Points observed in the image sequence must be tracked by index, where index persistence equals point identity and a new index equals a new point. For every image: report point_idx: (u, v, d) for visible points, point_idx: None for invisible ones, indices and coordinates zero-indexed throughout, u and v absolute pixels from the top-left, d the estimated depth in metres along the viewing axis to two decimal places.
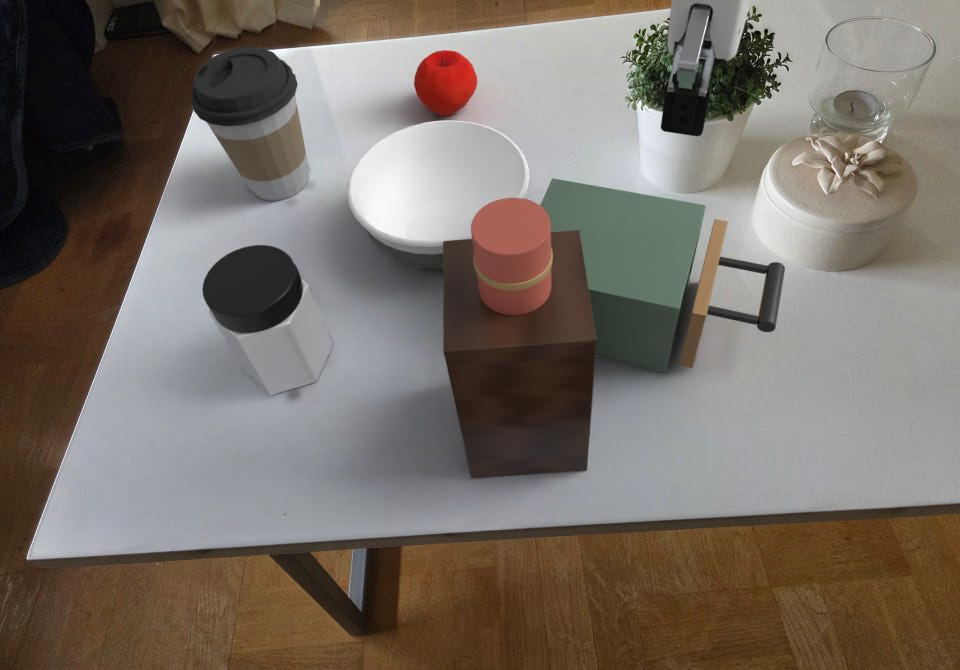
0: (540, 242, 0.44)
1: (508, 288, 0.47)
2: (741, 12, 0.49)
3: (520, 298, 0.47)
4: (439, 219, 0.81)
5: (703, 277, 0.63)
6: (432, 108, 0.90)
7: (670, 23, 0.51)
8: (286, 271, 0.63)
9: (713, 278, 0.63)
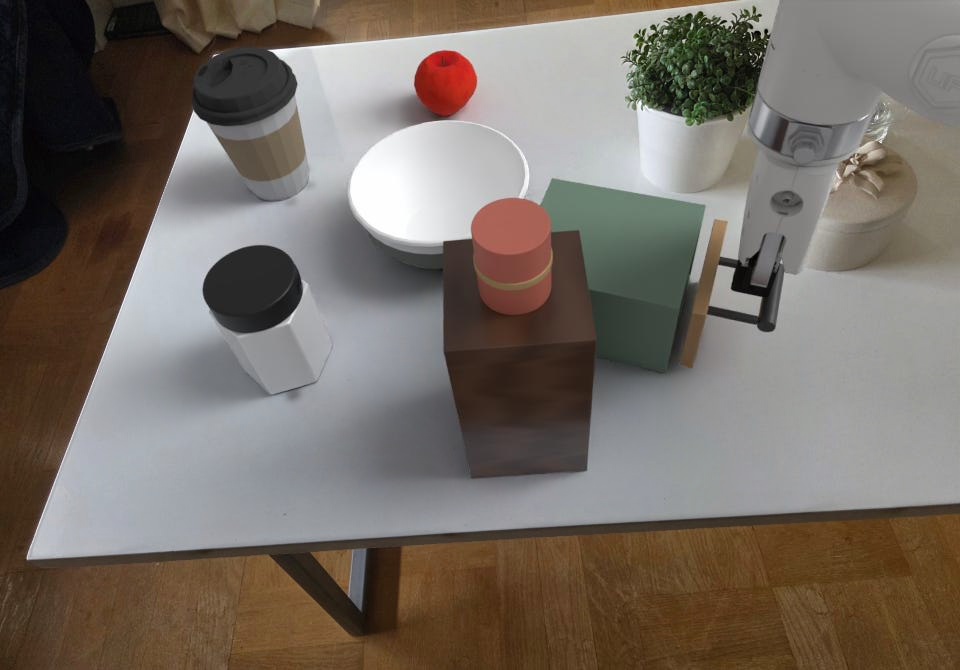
0: (540, 242, 0.44)
1: (508, 288, 0.47)
2: (812, 241, 0.52)
3: (520, 298, 0.47)
4: (439, 219, 0.81)
5: (703, 277, 0.63)
6: (432, 108, 0.90)
7: (743, 242, 0.54)
8: (286, 271, 0.63)
9: (713, 278, 0.63)
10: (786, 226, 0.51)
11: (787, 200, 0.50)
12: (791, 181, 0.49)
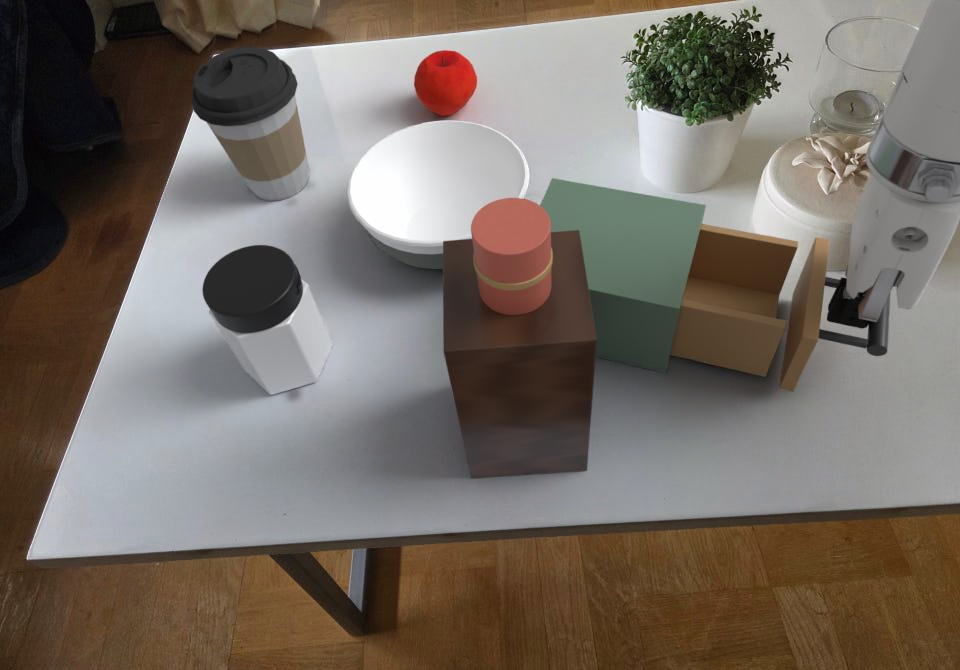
0: (540, 242, 0.44)
1: (508, 288, 0.47)
2: (931, 276, 0.51)
3: (520, 298, 0.47)
4: (439, 219, 0.81)
5: (810, 299, 0.60)
6: (432, 108, 0.90)
7: (856, 277, 0.53)
8: (286, 271, 0.63)
9: (821, 300, 0.60)
10: (906, 262, 0.50)
11: (909, 236, 0.49)
12: (917, 218, 0.48)
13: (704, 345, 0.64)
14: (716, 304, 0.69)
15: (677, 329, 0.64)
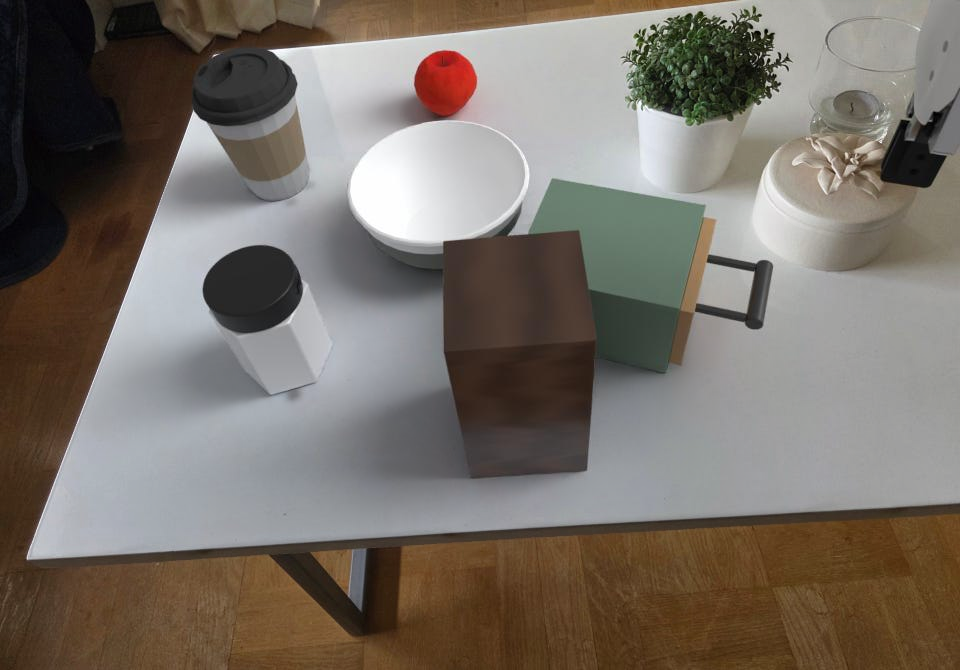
0: None
1: None
2: None
3: None
4: (439, 219, 0.81)
5: (691, 275, 0.63)
6: (432, 108, 0.90)
7: (931, 89, 0.41)
8: (286, 271, 0.63)
9: (701, 276, 0.63)
10: None
11: None
12: None
13: None
14: None
15: None
